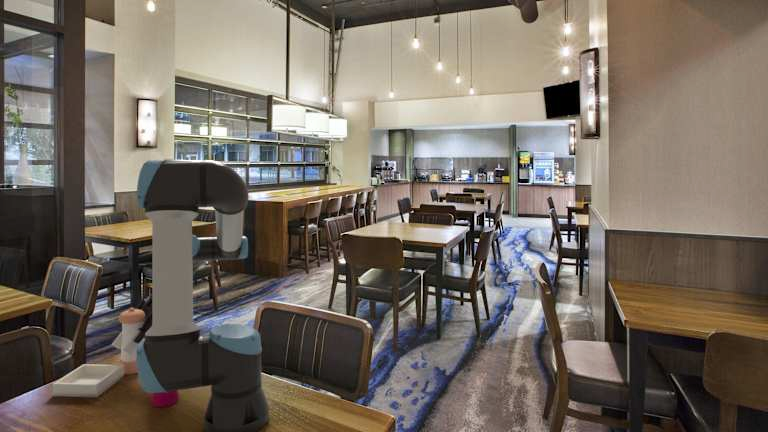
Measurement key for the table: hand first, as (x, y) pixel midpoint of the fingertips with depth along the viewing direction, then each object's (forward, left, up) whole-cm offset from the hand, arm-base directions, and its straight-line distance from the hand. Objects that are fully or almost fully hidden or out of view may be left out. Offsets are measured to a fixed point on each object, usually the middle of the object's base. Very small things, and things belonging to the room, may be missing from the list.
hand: (120, 349), depth 129 cm
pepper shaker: (+3, -2, -8) cm, 8 cm away
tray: (-8, +4, -7) cm, 12 cm away
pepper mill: (-15, -21, -8) cm, 27 cm away
